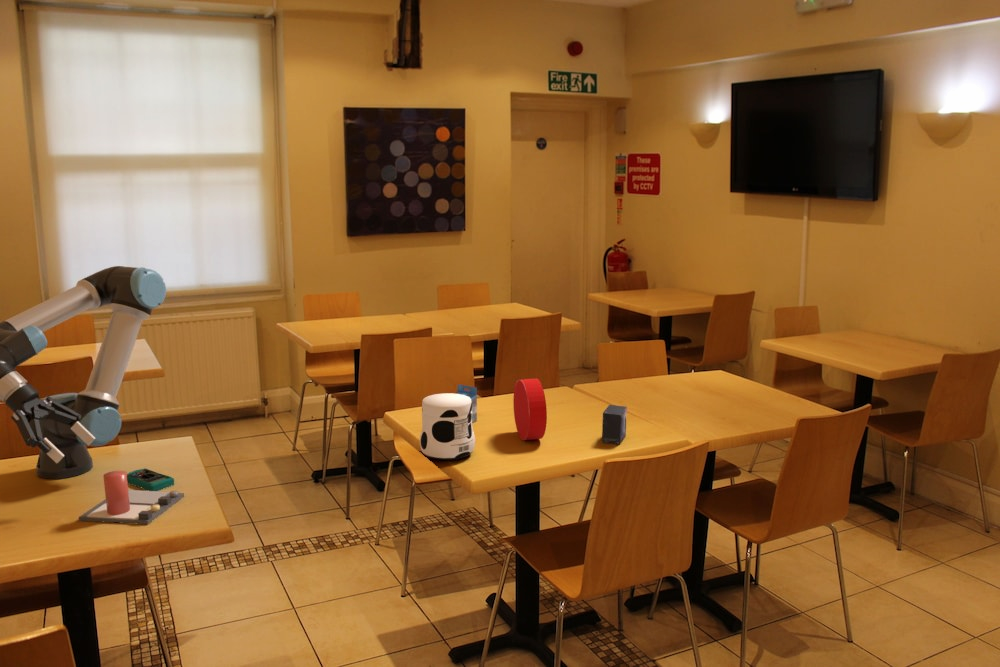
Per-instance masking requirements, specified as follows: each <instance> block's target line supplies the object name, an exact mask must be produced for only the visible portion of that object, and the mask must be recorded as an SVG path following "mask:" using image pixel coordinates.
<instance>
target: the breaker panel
mask: <svg viewBox="0 0 1000 667" xmlns="http://www.w3.org/2000/svg"><path fill="white" fill-rule="evenodd" d="M128 493H129V503H130V510H129V511H128V512H126V513H123V514H118V515H110V514H108V513H107V505H106V498H105V499H104V500H102V501H101V502H99V503H97V504H96V505H94V506H93V507H91V508H90V509H89V510H87V511H86V512H84V513H83V514H81V515H79V516H78V522H91V521H100V522H99V523H102V522H101V521H104V522H103V523H109V522H122V523H121V524H127V523H137V524H136V525H145V524H148V525H150V524H151V523H152V522H153V521H155V520H156V519H157V518H159V517H160V516H161V515H162V514H164V513H165V512H166V511H167V509H168V508H169V507H170V508H171V507H173V506H174V505H175V504H177V503H178V502H179V501H181V498H182V497H183V498H184V497H185V493H184V492H179V490H172V491H162V490H159V491H148V490H138V489H137V490H136V489H128ZM183 498H182V499H183ZM177 501H178V502H177ZM176 502H177V503H176ZM173 504H174V505H173ZM172 505H173V506H172ZM170 508H169V509H170ZM169 509H168V510H169ZM164 511H165V512H164ZM163 512H164V513H163ZM159 515H160V516H159ZM158 516H159V517H158ZM155 518H156V519H155ZM154 519H155V520H154ZM152 520H153V521H152ZM151 521H152V522H151ZM150 522H151V523H150ZM149 523H150V524H149Z"/></svg>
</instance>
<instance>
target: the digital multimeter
mask: <svg viewBox="0 0 1000 667" xmlns="http://www.w3.org/2000/svg"><path fill="white" fill-rule="evenodd" d="M126 474H127V483H130V484H129V485H131V484H133V485H132V486H134V485H136V486H135V487H137V486H139V487H138V488H140V487H142V488H141V489H143V488H144V490H145V489H146V490H145V491H148V490H149V491H158V490H159V491H162V490H164V489H163V488H165V489H167V488H166V487H168V488H170V487H172V486H171V485H173V486H174V485H175V478H173V477H171V476H169V475H165V474H162V473H160V472H156V471H154V470H151V469H148V468H139V469H136V470H133V471H131V472H128V473H126ZM169 486H170V487H169ZM161 489H162V490H161Z"/></svg>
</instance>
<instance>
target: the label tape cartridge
mask: <svg viewBox="0 0 1000 667" xmlns="http://www.w3.org/2000/svg"><path fill="white" fill-rule="evenodd" d="M466 389H468V390H466ZM454 394H462V395H466V396H468V397H470V399H471V402H472V424H473V423H476V422H477V421H478V411H477V410H478V405H477V404H478V387H475V386H469V385H464V384H457V391H456V392H455V393H454Z"/></svg>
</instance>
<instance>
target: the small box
mask: <svg viewBox="0 0 1000 667" xmlns="http://www.w3.org/2000/svg"><path fill="white" fill-rule="evenodd" d="M627 410H628V407H627V406H623V405H615V404H614V405H613V404H609V405H608V406H607V407H606V408H605V409H604V411H603V412H602V426H601V427H602V432H601V443H602V444H608V445H617V446H618V445H621V443H622V442H623V441H624V439H625V438H626V436H627V415H628V413H627Z"/></svg>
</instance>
